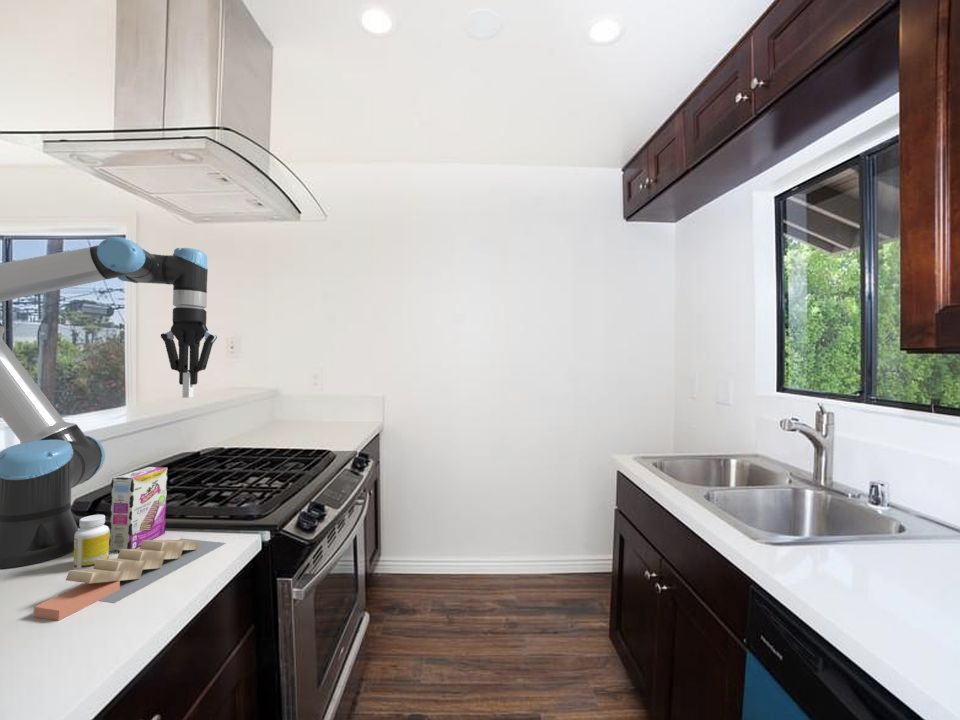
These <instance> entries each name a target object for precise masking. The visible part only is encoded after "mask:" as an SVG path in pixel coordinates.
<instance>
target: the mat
mask: <svg viewBox="0 0 960 720" xmlns="http://www.w3.org/2000/svg"><path fill="white" fill-rule="evenodd" d="M178 540H187V541H196V542H199V546H198V549H197V550H182V554H181V557H180V558H179V559H163V564H162V567H161V568H157V569H143V570H142V573H141V577H140V579H131V580H121V581H120V589H119V590H117V591H115V592H114V593H112V594H110V595H108V596H106V597H104V598H102V599H100V600H98V601H97V602H104V603H112V604H117V602H120V601H121V600H123V599H125V598H126V597H127V598H128V597H129V596H131V595H133V594H135V593H136V592H139V591H140V590H141V589H144V588H146V587H147V586H150V585H151V584H153V583H156V582H157V581H158V580H160V579H163V578H164V577H166V576H168V575H170V574H172V573H174V572H176V571H177V570H180V569H181V568H183V567H185V566H187V565H189V564H190V563H192V562H194V561H197V560H198V559H200V558H201V557H203V556H205V555H208V554H209V553H211V552H213V551H215V550H216V549H218V548H220V547H222V546H224V545H226V544H227V542H220V541H211V540H210V541H209V540H201V539H190V538H182V537H181V538H179V539H178ZM83 584H85V583H81V584H79V585H76V586H75V587H73V588H71V589H68V590H65V591H64V592H62V593H59V594H58V596H59V595H61V594H63V593H65V592H67V591H70V590H72V589H74V588H76V587H78V586H80V585H83Z"/></svg>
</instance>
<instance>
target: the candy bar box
mask: <svg viewBox="0 0 960 720" xmlns="http://www.w3.org/2000/svg"><path fill="white" fill-rule="evenodd" d="M168 470H169V469H168V467H164V466H163V467H162V466H161V467H160V466H147V467H144V468H141V469H138V470H135V471H131V472H128V473H124V474H121V475H117V476H114V477H112V478H111V495H110V496H111V498H110V500H111V502H110V520H109V522H110V524H109V526H110V527H109V553H119V552H120V549H139V548H140V545H141V542H142V540H156V539H158V538H159V537H161V536H163V535H165V534H166V517H167V516H166V515H167V513H166V512H167V495H168V494H167V493H168V492H167V486H168V472H169V471H168Z"/></svg>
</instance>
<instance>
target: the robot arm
mask: <svg viewBox="0 0 960 720" xmlns="http://www.w3.org/2000/svg"><path fill="white" fill-rule="evenodd" d="M208 271H209V269H208V255H207V254H206V253H205V251H202V250H200V249H195V248H190V247H175V248H174V250H173V253H172V255H170V254H169V255H168V254H167V255H166V254H155V253H150V252H148V251H147V250H145V249H144V248H142V247H141V246H140V245H139V244H138V243H136V242H134V241H133V240H130V239H127V238H124V237H120V236H111V237H107V238H105V239H104V240H102V241H101V242H100V243H99V244H98V245H93V246H88V247H83V248H79V249H73V250H68V251H62V252H61V251H60V252H57V253H52V254H50V253H49V254H46V255H39V256H35V257H30V258H29V257H28V258H24V259H18V260H13V261H7V262H2V263H0V303H1V302H6V301H7V302H8V301H11V300H16V299H20V298H21V299H22V298H26V297H30V296H34V295H39V294H44V293H49V292H53V291H58V290H64V289H67V288H72V287H76V286H77V287H78V286H83V285H86V284H91V283H96V282H102V281H105V280H111V279H116V278H118V280H119V281H121V282H129V283H130V282H131V283H134V284H139V283H140V284H141V283H142V284H158V285H169V286H170V285H172V286H173V289H172V290H173V291H172V292H173V293H172V305H173V307H174V308H172V325H171V327H170V330H169V331H167V332H163V333H161V334H160V338H161V339H162V341H163V342H164V345H165V348H166V349H165V350H166V352H167V353H166V354H167V357H168V361H169V365H170V369H171V370H173V371H177V372H178V373H179V374H178V383H179V385H182V398H194V396H195V395H194V394H195V393H194V391H195V390H194V389H195V388H194V386H195V385H197V384H198V378H199V376H198V373H199V372H202V371H205V370H206V368H207V365H208V362H209V358H210V354H211V352H212V348H213V344H214V343H215V341H216V340H217V339H218V336H217V335H216V334H212V333H210V332H209V330H208V327H207V311H206V308H207V304H208V303H207V302H208V300H207V296H208V291H207V290H208V274H209V273H208ZM1 314H2V313H1V312H0V318H1V317H2V315H1ZM5 330H6V329H5V327H4V326H3V324H2V323H1V322H0V417H1V418H2V419H3V421H4V422H5V423H6V424H7V426H8V427H9V428H10V429H11V431H12V432H13V434H14V435H15V436H16V437H17V439H18V441H20V443H18V444H14V445H11V446H9V447H6V448H4V449H2V451H0V569H9V568H10V569H11V568H17V567H23V566H29V565H34V564H38V563H42V562H46V561H49V560H52V559H56V558H58V557H61V556H64V555H66V554H68V553H70V552H74V535H75V533H76V532H77V531H78V530H79V528H78V525H77V522H76V520H75V519H74V515H73V513H72V510H71V509H72V489H73V488H75V487H77V486H79V485H81V484H84V483H85V482H88V481H89V480H90V479H92V478H93V477H94V476H95V475H96V474H97V473H98V472H99V471H100V470H101V469H102V467H103V465H104V462H105V459H106V452H105V448H104V446H103V445H102V443H101V442H100V441H99V440H97V439H96V438H94V437H93V436H89V435H85V433H84V432H83V431H82V430H81V428H80V427H79V426H78V424H77V423H73V422H68V421H65V420H64V419H63V417H62V416H61V415H60V413H59V412H58V410H57V409H56V408H55V407H54V406H53V404H52V403H51V401H50V400H49V399H48V398H47V396H46V395H45V394H44V392H43V391H42V390H41V387H39V385H37V383H36V382H35V381H34V379H33V378H32V376H31V375H30V374H29V373H28V371H27V370H26V368H25V367H24V366H23V365H22V363H21V361H19V359H18V358H17V356H16V355H15V354H14V353H13V352H12V351H13V350H12V349H10V347H9V346H8V344H6V342H5V341H4V339H3V334H4V332H5ZM174 339H176V340H177V344H178V350H177V348H176V343H175V340H174ZM203 339H204V341H203V342H204V343H203V345H202V347H201V348H202V349H201V351H200V345H201V341H202V340H203ZM200 352H201V353H200ZM199 353H200V355H199Z"/></svg>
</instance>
